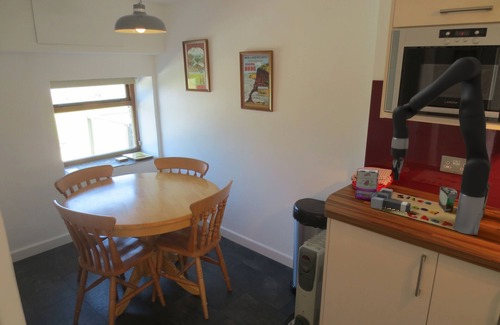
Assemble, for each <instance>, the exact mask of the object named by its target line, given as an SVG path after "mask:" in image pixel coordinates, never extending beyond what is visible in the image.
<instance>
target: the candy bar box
mask: <svg viewBox="0 0 500 325" xmlns="http://www.w3.org/2000/svg"><path fill="white" fill-rule="evenodd" d="M379 176H380V175H379V169H369V168H360V167H359V168H357V170H356V181H355V183H356V184H355V193H354V194H355V195H354V198H355V199H359V200H365V201H366V200H367V201H371V196H372V195H373V194H374V193H375V192H376V191H378V186H379Z"/></svg>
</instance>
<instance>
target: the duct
mask: <svg viewBox="0 0 500 325" xmlns="http://www.w3.org/2000/svg"><path fill="white" fill-rule="evenodd" d="M393 192H394V190H393V189H391V188H390V189H389V188H386V187H382V188H381V189H380V190H379V191H378V190H377V191H376V192H375V193H374V194H373V195H372V196H371V200H370V208H374V209H378V210H382V209H383V201H384V199H383V198H379V197H384V198H388V199H393Z"/></svg>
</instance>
